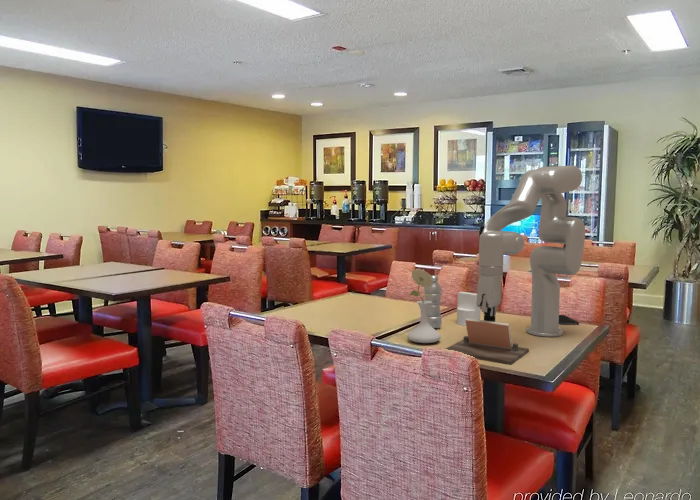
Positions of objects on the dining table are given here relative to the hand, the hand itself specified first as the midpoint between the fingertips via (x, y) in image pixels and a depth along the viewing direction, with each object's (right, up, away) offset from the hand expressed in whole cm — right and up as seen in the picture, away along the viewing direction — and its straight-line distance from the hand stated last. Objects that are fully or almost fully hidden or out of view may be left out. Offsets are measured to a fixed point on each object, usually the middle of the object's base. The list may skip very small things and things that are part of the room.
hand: (489, 327), depth 178 cm
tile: (0, -2, 0) cm, 2 cm away
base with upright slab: (+2, -4, +39) cm, 39 cm away
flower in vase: (-20, -7, +13) cm, 24 cm away
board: (-1, -8, -2) cm, 8 cm away
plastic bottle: (-13, -5, +32) cm, 35 cm away
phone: (+40, -4, +44) cm, 60 cm away
